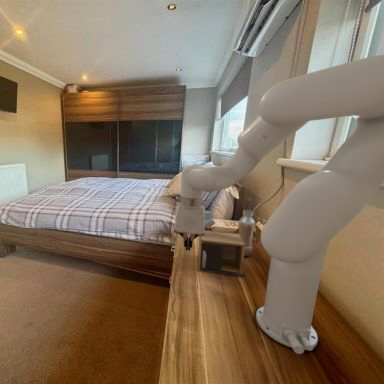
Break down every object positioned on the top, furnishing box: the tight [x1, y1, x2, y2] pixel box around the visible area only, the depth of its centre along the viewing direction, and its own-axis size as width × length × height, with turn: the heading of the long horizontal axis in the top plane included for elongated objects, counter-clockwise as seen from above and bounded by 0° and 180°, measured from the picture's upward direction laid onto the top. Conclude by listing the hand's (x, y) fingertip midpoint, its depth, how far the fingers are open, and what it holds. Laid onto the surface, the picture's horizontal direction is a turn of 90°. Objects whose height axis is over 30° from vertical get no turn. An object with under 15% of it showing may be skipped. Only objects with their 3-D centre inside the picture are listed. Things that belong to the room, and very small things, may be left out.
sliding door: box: [199, 243, 223, 270], centre depth 75 cm, size 5×7×10 cm, turn 74°
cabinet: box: [197, 230, 245, 277], centre depth 80 cm, size 11×15×12 cm
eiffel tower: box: [234, 192, 258, 243], centre depth 107 cm, size 11×11×25 cm
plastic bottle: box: [238, 209, 257, 257], centre depth 88 cm, size 6×7×20 cm
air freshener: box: [205, 209, 216, 230], centre depth 121 cm, size 11×8×10 cm
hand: (187, 248), depth 75 cm, fingers closed
